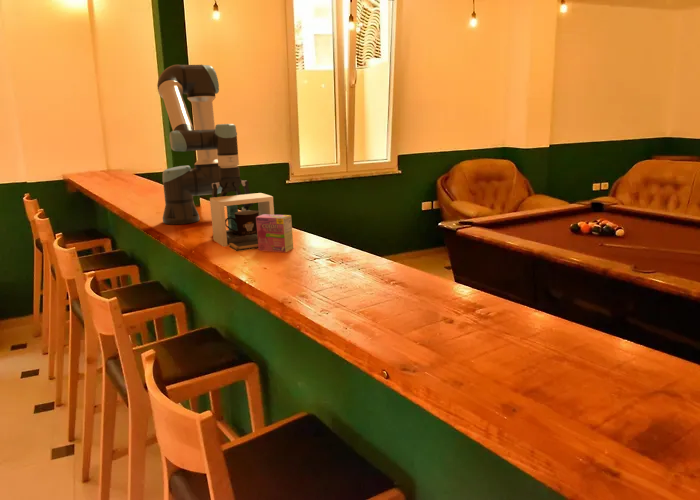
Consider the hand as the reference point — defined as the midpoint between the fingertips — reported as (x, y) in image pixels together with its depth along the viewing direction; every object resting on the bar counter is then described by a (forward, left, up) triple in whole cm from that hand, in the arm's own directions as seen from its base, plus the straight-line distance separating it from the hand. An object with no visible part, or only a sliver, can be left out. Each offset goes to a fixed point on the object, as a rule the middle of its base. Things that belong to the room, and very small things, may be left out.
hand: (233, 226), depth 212 cm
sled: (+8, 0, -3) cm, 8 cm away
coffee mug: (+12, 0, -3) cm, 12 cm away
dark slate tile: (+23, 0, -3) cm, 24 cm away
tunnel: (+12, 0, -3) cm, 12 cm away
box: (+32, +4, -3) cm, 33 cm away
